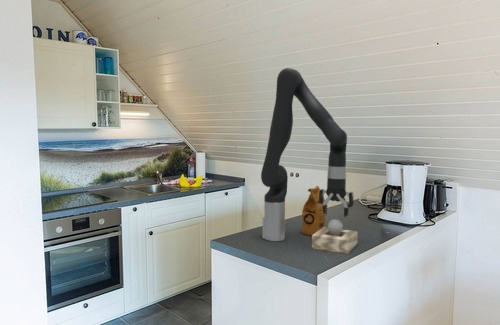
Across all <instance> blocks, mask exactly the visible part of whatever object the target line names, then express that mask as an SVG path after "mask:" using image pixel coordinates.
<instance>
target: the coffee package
mask: <svg viewBox="0 0 500 325" xmlns="http://www.w3.org/2000/svg"><path fill="white" fill-rule="evenodd" d="M320 190H321V188H320V186H319V185H316V186H315V187H314V188H308V189H307V192H308V193H310V194H309V195H308V198H307V200H306V201H305V203H304V205H303V207H302V210H301V211H302V213H301V216H302V219H301V220H302V223H301V226H302V227H301V232H302V234H303V235H307V236H312V235H313V234H315V233H316V232H317V231H319V230H320V229H322V228H323V227H326V216H327V214H324V213H323V205H322V204H321V203H319V191H320ZM325 200H326V198H325V196H323V201H325Z"/></svg>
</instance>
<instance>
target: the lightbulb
mask: <svg viewBox="0 0 500 325" xmlns="http://www.w3.org/2000/svg"><path fill="white" fill-rule="evenodd" d="M343 226H344V225H343V222H342V221H341V220H339V219H338V218H333V219H331V220H330V221H329V222H328V223H327V227H328V229H329V231H330V233H331V235H332V236H339V235H340V232H341V231H342V230H343Z"/></svg>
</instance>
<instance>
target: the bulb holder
mask: <svg viewBox="0 0 500 325" xmlns="http://www.w3.org/2000/svg"><path fill="white" fill-rule="evenodd" d="M358 235H359V234H358V231H357V230H349V229H342V231H341V232H340V235H339V236H332V235H331V233H330V231H329V229H328V226H327V227H326V226H325V227H323V228H322V229H320V230H319V231H317V232H316V233H315V234H313V235H311V248H312V249H314V250H321V251H327V252H331V253H337V254H338V253H339V254H345V255H349V254H350V253H351V252H352V250H354V248H355V247H356V246H357V245H358Z"/></svg>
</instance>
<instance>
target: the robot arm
mask: <svg viewBox="0 0 500 325" xmlns="http://www.w3.org/2000/svg"><path fill="white" fill-rule="evenodd" d="M275 90H276V92H275V103H274V107H273V108H274V109H273V113H272V118H271V123H270V128H269V136H268V142H267V148H266V153H265V157H264V161H263V166H262V167H261V168H262V169H261V174H260V178H261V179H260V180H261V182H262V184H263V186H265V187H267V188H269V189H268V190H267V192H266V193H265V194H264V199H263V200H264V201H263V202H264V206H263V207H264V208H263V209H264V210H263V211H264V215H263V218H262V239H264V240H266V241H270V242H281V241H284V240H285V238H286V237H285V235H286V233H285V232H286V227H285V226H286V224H285V223H286V196H287V193H288V182H289V181H288V178H289V177H288V171H287V169H286V168H285V167H284V166H283V165H282V164H280V162H281V157H282V155H283V153H284V151H285V149H286V147H287V146H288V144H289V142H290V140H291V137H292V133H293V132H292V130H293V124H294V115H293V100H294V96H295V98H296V99H297V100H298V102H300V103H301V104H300V105H302V107H303V108H304V110H305V112H306V114H307V115H308V116H309V118H310V119H311V120H312V121H313V123H314V124H315V125H316V126H317V127H318V129H319V130H320V131H321V132H322V133H323V135H324V136H325V138H326V139H327V140H328V142H329V155H328V168H327V176H326V178H327V183H326V189H324V188H320V191H319V203H321V204H322V205H323V213H324V214H326V215H327V214H328V203H329V202H330V201H331V202H340V203H341V204H342V206H343V207H344V208H343V217H345V218H347V216H349V208H353V206H354V203H355V202H354V192H353V191H348V192H347V191H346V186H347V184H346V183H347V169H346V167H347V166H346V165H347V156H346V152H347V144H348V143H347V141H348V136H347V133H346V131H345V130H343V129H342V127H340V126H339V125H338V124H337V122H336V121H335V120H334V117H333V116H332V115H331V114H330V112H328V110H327V109H326V107H325V106H323V104H322V103H321V102H320V101H319V100H318V98H316V96H315V95H314V94H313V92H312V91H311V89H310V88H309V87H308V85H307V83H306V82H305V80H304V78H303V76H302V75H301V73H300V72H299V71H298V70H296V69H294V68H291V67H285V68H283V69H282V70H280V72H279V73H278V74H277V78H276V89H275ZM325 194H326V196H327V197H326V198H325V201H323V196H324V195H325ZM346 195H347V198H348V202H347V199H346V198H345V197H346ZM324 197H325V196H324Z"/></svg>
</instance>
